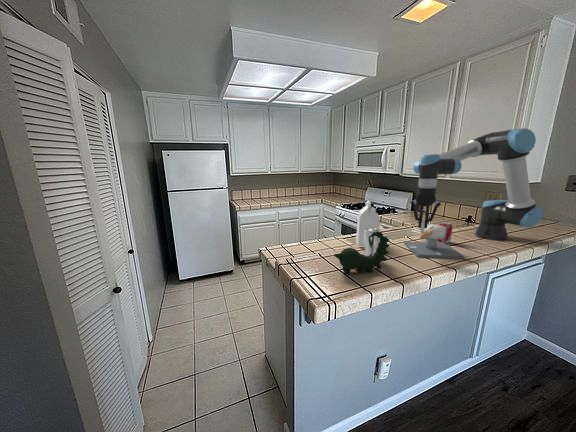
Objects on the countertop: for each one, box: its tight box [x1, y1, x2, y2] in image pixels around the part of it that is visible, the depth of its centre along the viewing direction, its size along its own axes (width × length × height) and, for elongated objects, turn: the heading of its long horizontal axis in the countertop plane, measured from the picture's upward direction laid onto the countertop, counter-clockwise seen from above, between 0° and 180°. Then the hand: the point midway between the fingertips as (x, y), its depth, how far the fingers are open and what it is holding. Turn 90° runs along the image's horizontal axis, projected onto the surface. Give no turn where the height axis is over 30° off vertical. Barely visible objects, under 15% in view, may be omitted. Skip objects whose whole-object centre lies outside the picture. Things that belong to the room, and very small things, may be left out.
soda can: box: [437, 221, 453, 245], centre depth 134 cm, size 7×7×12 cm
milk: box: [355, 200, 380, 247], centre depth 133 cm, size 12×12×26 cm
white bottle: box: [419, 223, 446, 240], centre depth 117 cm, size 22×11×5 cm, turn 133°
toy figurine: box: [333, 231, 390, 274], centre depth 100 cm, size 9×19×25 cm
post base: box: [403, 238, 465, 260], centre depth 122 cm, size 21×21×8 cm
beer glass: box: [364, 228, 380, 256], centre depth 113 cm, size 7×7×15 cm
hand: (422, 234), depth 114 cm, fingers closed
